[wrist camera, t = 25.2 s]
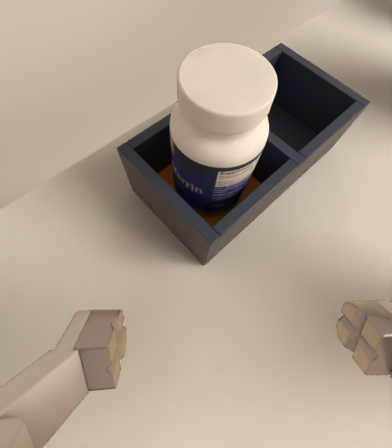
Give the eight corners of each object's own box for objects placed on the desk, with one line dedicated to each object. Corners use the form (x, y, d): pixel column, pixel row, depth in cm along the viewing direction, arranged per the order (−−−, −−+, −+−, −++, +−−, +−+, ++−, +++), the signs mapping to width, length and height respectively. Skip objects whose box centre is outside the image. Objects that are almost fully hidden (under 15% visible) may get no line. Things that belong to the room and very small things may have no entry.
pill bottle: (161, 174, 20) (143, 53, 11) (219, 149, 22) (244, 22, 13) (195, 230, 19) (206, 141, 9) (255, 199, 20) (316, 93, 11)
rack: (203, 265, 19) (211, 245, 14) (132, 189, 21) (116, 147, 16) (330, 148, 24) (370, 101, 19) (262, 96, 26) (281, 42, 21)
